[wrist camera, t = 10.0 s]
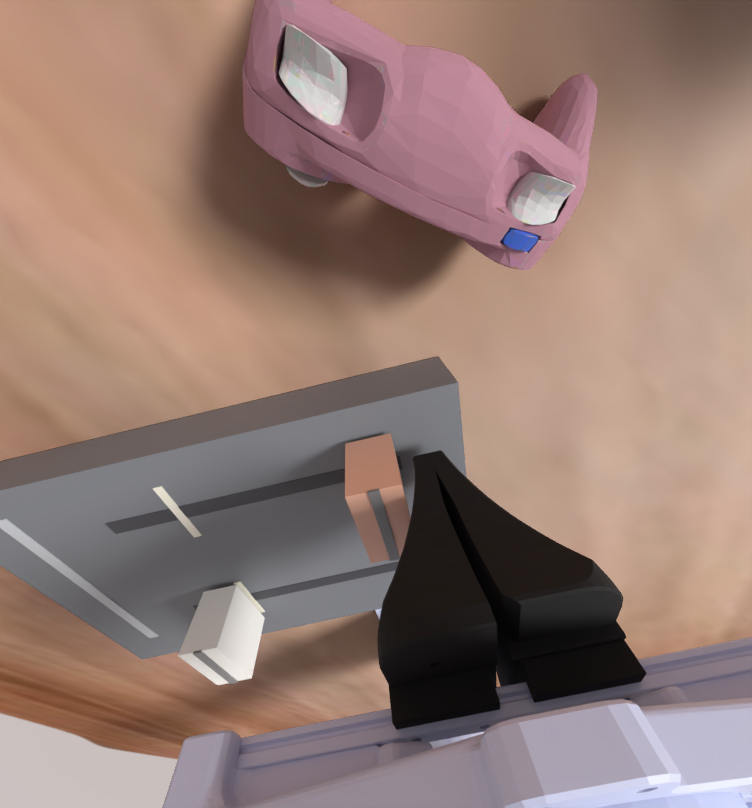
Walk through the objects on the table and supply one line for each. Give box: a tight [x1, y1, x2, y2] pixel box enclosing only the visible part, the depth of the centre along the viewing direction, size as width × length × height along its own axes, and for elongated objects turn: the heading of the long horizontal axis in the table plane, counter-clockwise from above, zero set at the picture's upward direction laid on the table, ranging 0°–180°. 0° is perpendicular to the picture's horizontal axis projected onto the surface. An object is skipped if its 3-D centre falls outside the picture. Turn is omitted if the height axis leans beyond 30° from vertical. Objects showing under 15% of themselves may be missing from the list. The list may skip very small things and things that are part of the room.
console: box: [0, 357, 466, 659], centre depth 18 cm, size 16×24×3 cm, turn 103°
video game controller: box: [242, 0, 598, 270], centre depth 8 cm, size 10×5×7 cm, turn 70°
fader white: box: [178, 585, 265, 685], centre depth 17 cm, size 4×2×3 cm, turn 13°
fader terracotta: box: [345, 433, 411, 563], centre depth 12 cm, size 4×2×3 cm, turn 12°
